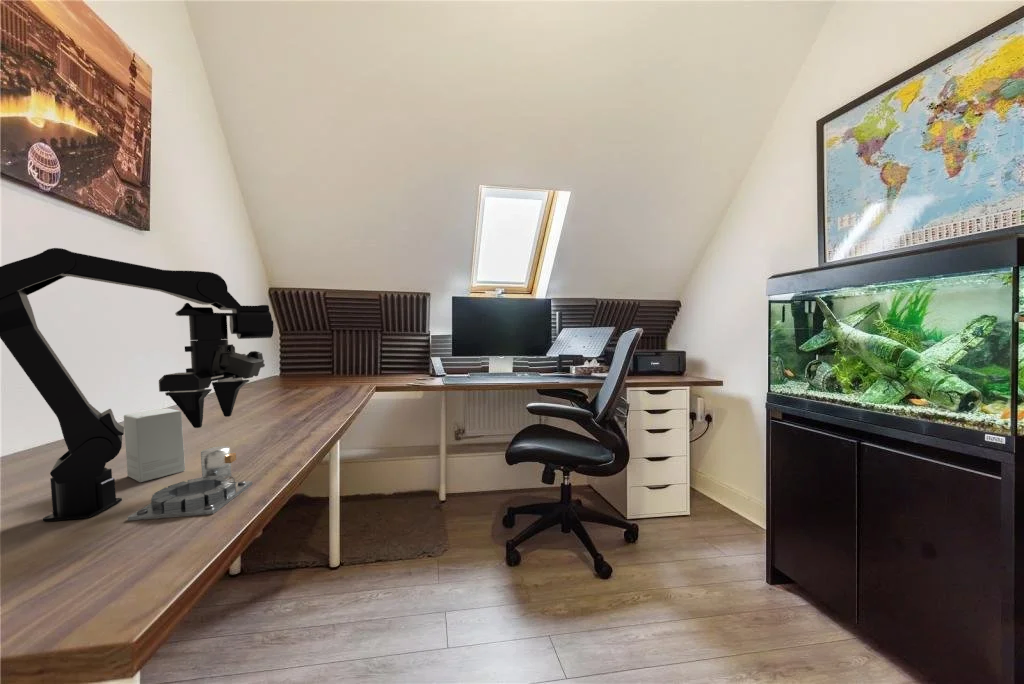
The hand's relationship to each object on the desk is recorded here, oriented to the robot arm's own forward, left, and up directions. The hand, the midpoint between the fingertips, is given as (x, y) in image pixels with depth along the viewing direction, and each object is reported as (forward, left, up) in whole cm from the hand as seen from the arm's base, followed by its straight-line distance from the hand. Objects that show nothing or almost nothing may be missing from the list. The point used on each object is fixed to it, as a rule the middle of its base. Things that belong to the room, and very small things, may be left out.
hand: (213, 421), depth 76 cm
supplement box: (-15, +7, -12) cm, 20 cm away
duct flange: (+2, -9, -11) cm, 15 cm away
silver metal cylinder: (0, 0, -11) cm, 11 cm away
